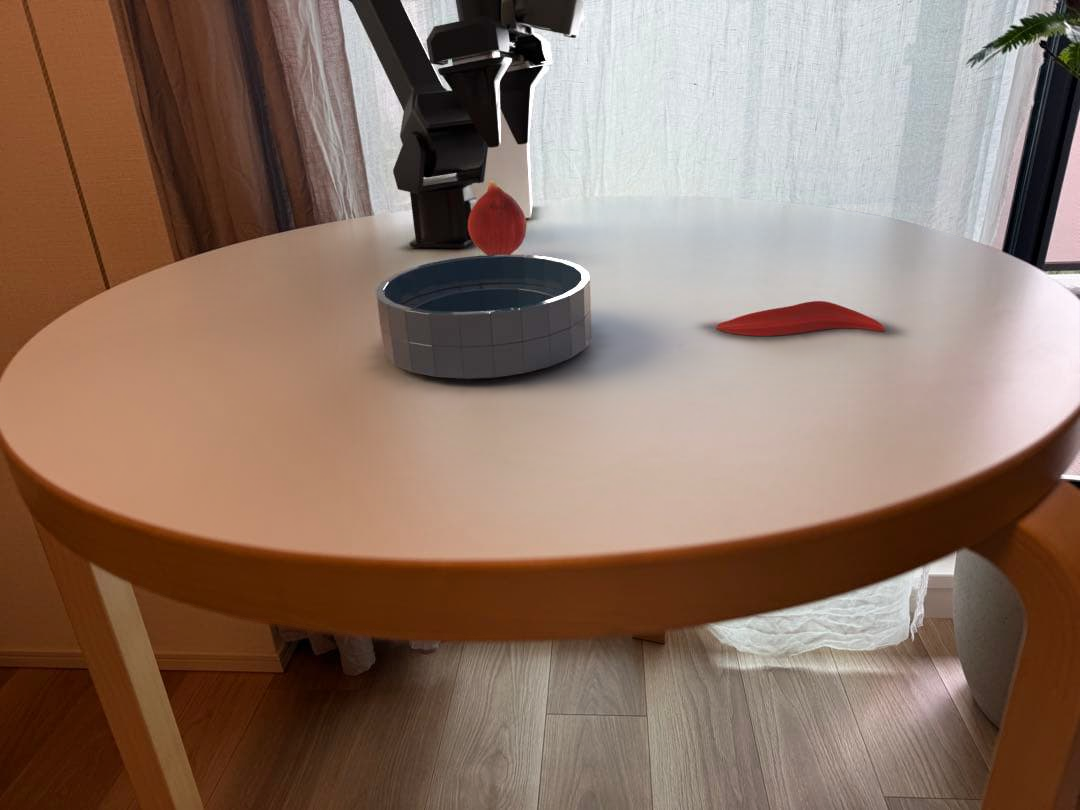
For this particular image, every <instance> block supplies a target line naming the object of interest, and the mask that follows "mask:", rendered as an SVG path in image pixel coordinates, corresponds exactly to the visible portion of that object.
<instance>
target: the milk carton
mask: <svg viewBox="0 0 1080 810" xmlns="http://www.w3.org/2000/svg"><path fill="white" fill-rule="evenodd" d="M500 123H501V142H500V146H498V147H493V148H489V147H488V152H487V160H486V168H485V176H484V182H483V183H473V184H472V187H473V197H476V198H477V199H478V200H479V199H480V198H481V197H482V196H483V195H484V194H485V193H486V192H487V190H488V186H489V181H494V182H495V183H496V184H497V186H498V187H499V188H501V189H502V190H503V191H504V192H505V193H507V194H509V195H510V196H511V197H513V199H514V200H515V201H516V202H517V204H518V205H519V206H520V208H521V209H522V210H523V213H524V215H525V218H526V219H530V218H532V211H533V194H532V193H533V192H532V191H533V190H532V176H531V175H532V174H531V156H530V155H531V154H530V141H529V142H528V143H527V144H521V145H519V144H517V142H516V140H515V138H514V136H513V134H512V132H511V130H510V128H509V126H508V124H507V122H506V120H505V118H504V115H503V113H502V111H501V109H500Z"/></svg>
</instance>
